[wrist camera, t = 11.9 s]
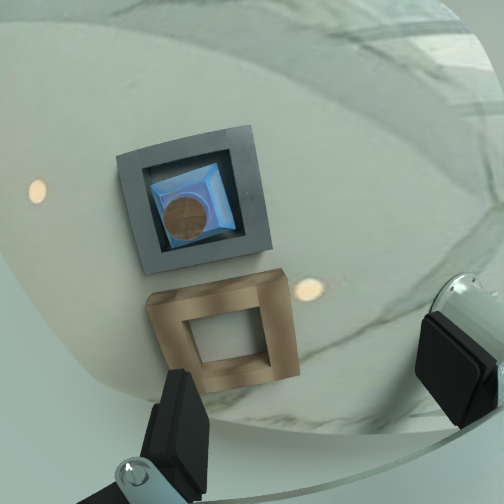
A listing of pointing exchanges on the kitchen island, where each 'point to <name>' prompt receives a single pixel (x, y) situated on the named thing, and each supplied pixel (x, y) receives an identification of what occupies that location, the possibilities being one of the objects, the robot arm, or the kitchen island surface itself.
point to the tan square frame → (223, 301)
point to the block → (211, 248)
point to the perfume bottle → (193, 206)
